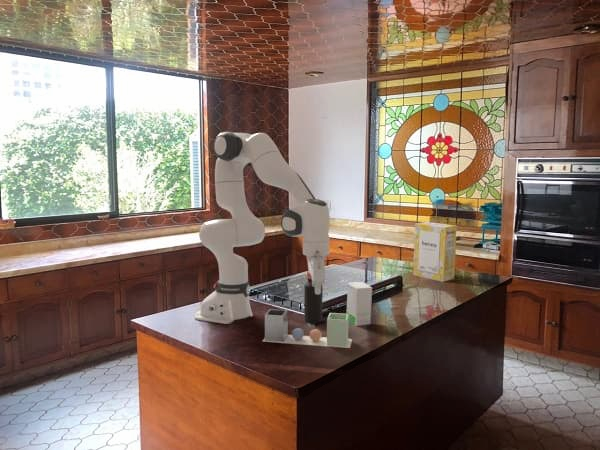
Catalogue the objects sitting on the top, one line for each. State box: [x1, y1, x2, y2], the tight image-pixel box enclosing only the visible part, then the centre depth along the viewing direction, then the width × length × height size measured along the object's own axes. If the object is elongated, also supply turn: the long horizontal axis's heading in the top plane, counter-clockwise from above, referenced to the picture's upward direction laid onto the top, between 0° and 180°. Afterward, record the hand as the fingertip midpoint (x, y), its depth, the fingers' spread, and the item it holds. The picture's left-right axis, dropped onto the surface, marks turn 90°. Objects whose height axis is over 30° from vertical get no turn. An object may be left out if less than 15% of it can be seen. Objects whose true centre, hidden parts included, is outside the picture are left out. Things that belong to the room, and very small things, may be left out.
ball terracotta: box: [309, 328, 322, 341], centre depth 159 cm, size 4×4×4 cm
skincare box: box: [345, 281, 373, 327], centre depth 178 cm, size 8×7×16 cm
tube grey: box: [264, 308, 289, 343], centre depth 162 cm, size 6×6×9 cm
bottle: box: [303, 270, 324, 324], centre depth 179 cm, size 7×7×20 cm
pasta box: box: [412, 221, 458, 283], centre depth 249 cm, size 18×10×28 cm, turn 41°
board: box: [262, 334, 353, 349], centre depth 160 cm, size 30×8×1 cm, turn 79°
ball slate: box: [291, 327, 305, 340], centre depth 161 cm, size 4×4×4 cm
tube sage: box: [326, 312, 349, 348], centre depth 158 cm, size 6×6×9 cm
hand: (316, 290), depth 157 cm, fingers open, 8 cm apart
